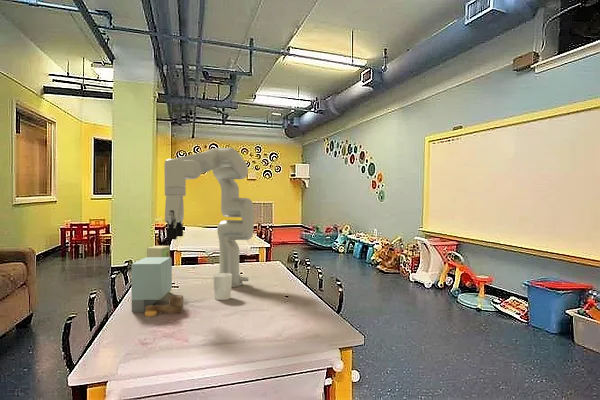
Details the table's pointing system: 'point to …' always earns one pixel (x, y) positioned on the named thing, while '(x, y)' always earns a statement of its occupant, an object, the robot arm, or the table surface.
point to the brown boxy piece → (174, 306)
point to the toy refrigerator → (158, 251)
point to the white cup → (222, 286)
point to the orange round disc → (150, 313)
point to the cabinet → (150, 281)
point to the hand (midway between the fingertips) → (175, 237)
